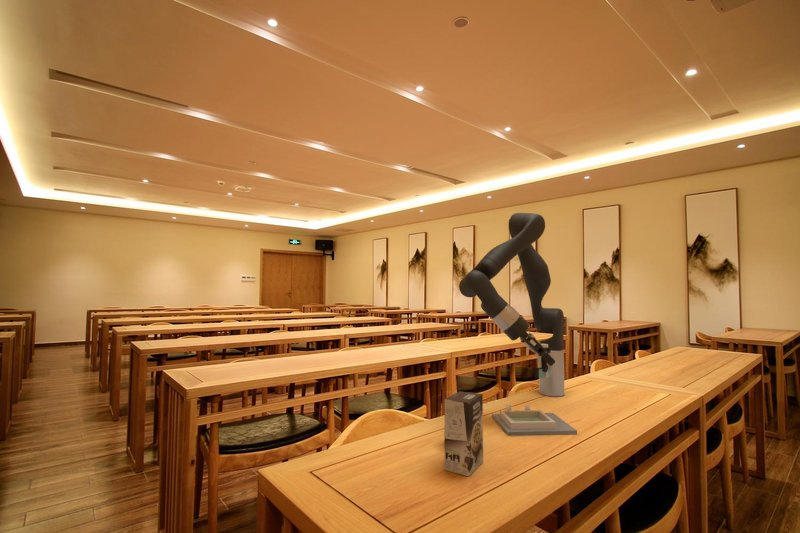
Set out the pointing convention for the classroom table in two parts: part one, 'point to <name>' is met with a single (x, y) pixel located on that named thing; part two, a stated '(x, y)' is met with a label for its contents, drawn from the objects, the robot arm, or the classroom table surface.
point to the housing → (531, 422)
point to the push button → (542, 364)
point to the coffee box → (463, 432)
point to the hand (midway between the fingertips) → (550, 362)
